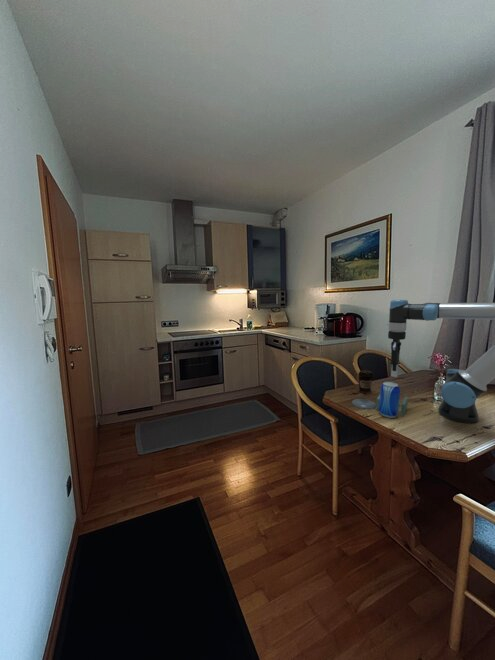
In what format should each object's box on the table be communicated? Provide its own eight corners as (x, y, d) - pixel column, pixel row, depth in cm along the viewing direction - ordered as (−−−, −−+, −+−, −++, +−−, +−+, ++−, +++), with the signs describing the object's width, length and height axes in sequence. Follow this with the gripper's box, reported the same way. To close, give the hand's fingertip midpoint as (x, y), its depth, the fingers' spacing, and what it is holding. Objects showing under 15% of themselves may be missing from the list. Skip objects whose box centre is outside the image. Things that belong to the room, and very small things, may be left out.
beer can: (394, 420, 123) (396, 388, 120) (376, 414, 129) (378, 383, 127) (400, 415, 128) (403, 384, 126) (382, 409, 134) (384, 379, 132)
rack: (407, 407, 137) (408, 396, 136) (403, 416, 127) (404, 404, 126) (381, 401, 144) (382, 391, 143) (376, 409, 134) (376, 398, 133)
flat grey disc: (378, 403, 142) (378, 402, 142) (373, 411, 132) (373, 410, 132) (355, 398, 149) (355, 397, 149) (349, 405, 140) (349, 404, 140)
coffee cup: (374, 395, 153) (375, 374, 151) (359, 394, 155) (360, 373, 153) (370, 389, 161) (371, 369, 160) (356, 389, 163) (357, 369, 161)
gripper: (390, 328, 136) (388, 372, 139) (386, 331, 126) (383, 378, 129) (407, 329, 131) (404, 374, 135) (403, 333, 121) (400, 381, 124)
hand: (394, 376), depth 132 cm, fingers closed
